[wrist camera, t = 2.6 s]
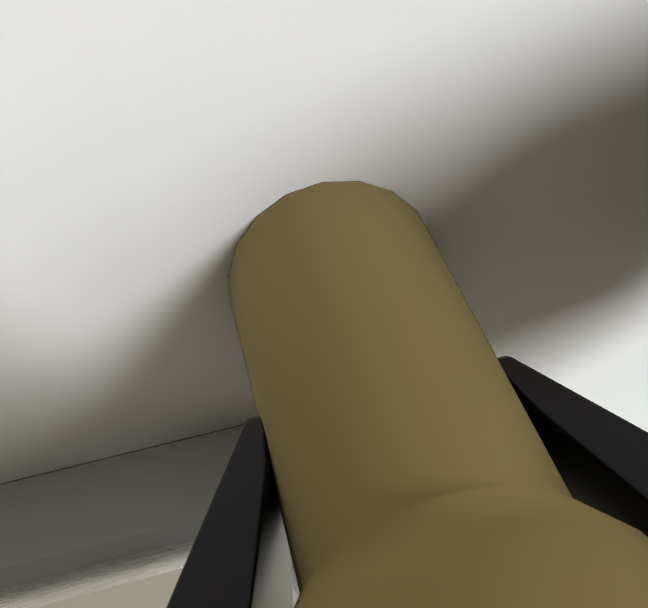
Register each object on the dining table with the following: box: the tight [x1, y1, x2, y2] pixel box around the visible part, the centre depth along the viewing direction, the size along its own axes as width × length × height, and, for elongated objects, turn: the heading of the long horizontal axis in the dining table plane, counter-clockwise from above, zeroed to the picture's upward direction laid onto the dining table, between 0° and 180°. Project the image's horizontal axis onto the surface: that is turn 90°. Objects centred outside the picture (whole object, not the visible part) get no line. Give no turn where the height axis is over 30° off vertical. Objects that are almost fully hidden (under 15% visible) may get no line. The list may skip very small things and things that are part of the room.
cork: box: [228, 181, 648, 608], centre depth 8 cm, size 6×6×11 cm
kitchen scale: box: [0, 425, 300, 608], centre depth 17 cm, size 13×12×4 cm
